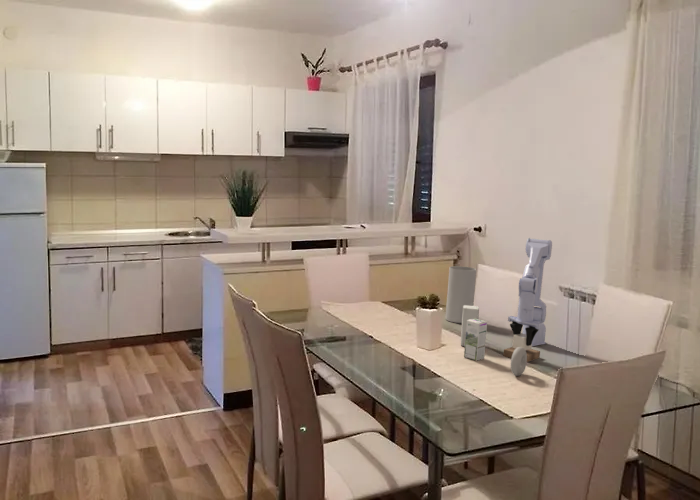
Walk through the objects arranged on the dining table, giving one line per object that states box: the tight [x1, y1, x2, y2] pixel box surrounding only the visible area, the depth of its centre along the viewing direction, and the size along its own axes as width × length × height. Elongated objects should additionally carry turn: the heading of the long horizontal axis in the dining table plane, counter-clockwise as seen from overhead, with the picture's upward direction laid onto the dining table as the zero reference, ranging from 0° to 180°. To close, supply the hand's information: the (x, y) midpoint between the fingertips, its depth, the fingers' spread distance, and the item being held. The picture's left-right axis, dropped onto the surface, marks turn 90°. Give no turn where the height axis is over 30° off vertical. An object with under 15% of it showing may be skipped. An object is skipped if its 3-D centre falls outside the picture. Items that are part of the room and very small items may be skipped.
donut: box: [510, 347, 528, 377], centre depth 228 cm, size 10×4×10 cm, turn 147°
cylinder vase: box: [445, 265, 477, 324], centre depth 309 cm, size 12×12×25 cm
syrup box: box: [463, 319, 488, 361], centre depth 246 cm, size 6×6×14 cm
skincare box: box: [460, 305, 480, 347], centre depth 266 cm, size 8×7×16 cm
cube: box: [511, 332, 533, 350], centre depth 252 cm, size 5×5×5 cm
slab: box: [502, 346, 541, 363], centre depth 253 cm, size 10×10×3 cm
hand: (522, 343), depth 253 cm, fingers closed on cube, 5 cm apart
